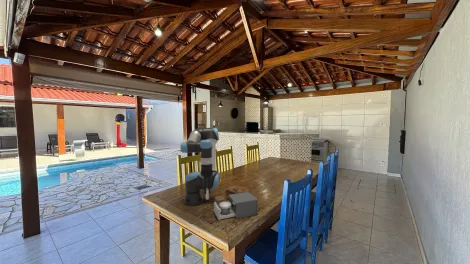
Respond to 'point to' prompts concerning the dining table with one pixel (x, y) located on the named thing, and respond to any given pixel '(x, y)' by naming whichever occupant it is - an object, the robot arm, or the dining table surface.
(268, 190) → the dining table surface
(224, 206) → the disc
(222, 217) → the grey drawer
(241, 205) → the grey drawer cabinet
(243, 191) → the bread
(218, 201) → the riser cube
